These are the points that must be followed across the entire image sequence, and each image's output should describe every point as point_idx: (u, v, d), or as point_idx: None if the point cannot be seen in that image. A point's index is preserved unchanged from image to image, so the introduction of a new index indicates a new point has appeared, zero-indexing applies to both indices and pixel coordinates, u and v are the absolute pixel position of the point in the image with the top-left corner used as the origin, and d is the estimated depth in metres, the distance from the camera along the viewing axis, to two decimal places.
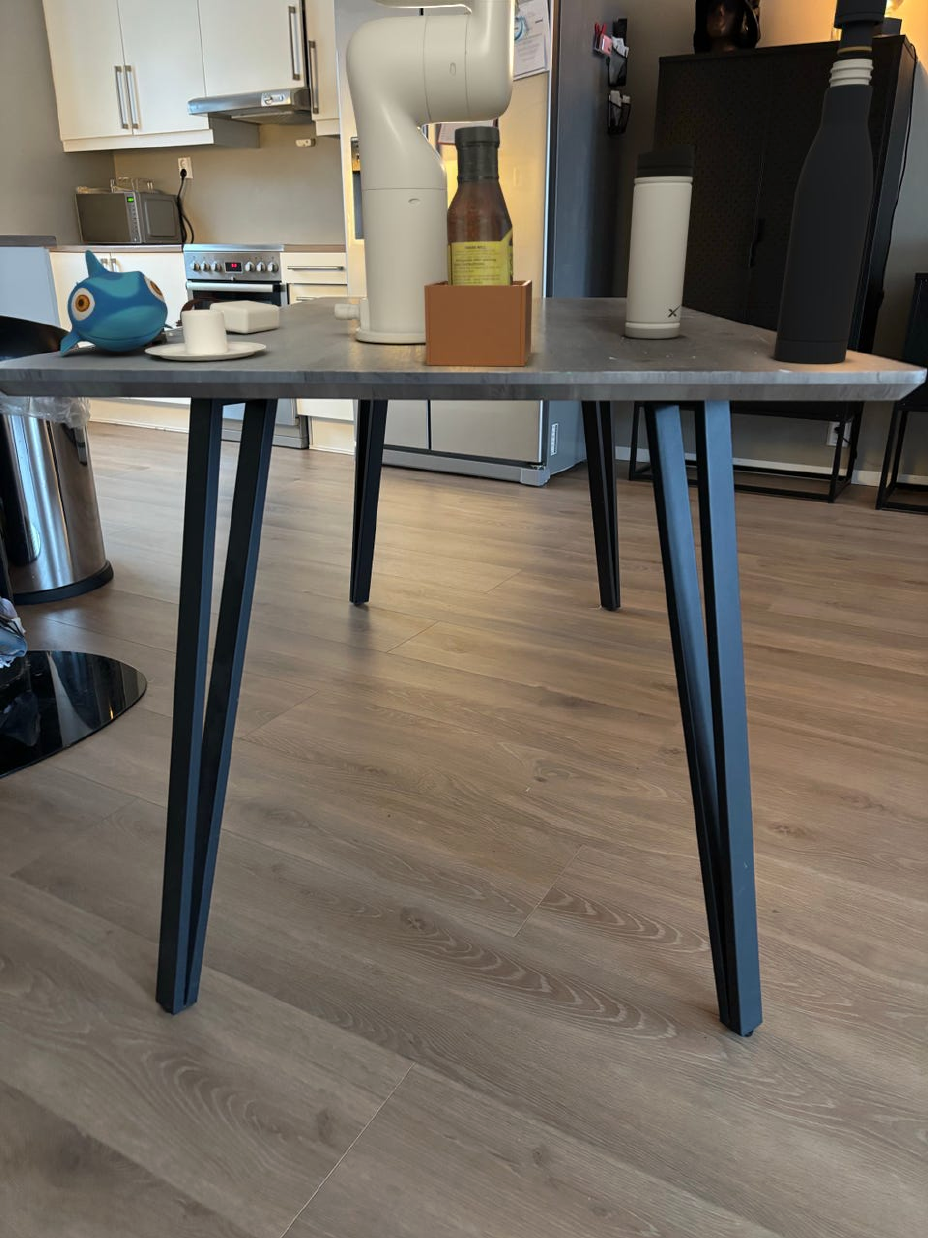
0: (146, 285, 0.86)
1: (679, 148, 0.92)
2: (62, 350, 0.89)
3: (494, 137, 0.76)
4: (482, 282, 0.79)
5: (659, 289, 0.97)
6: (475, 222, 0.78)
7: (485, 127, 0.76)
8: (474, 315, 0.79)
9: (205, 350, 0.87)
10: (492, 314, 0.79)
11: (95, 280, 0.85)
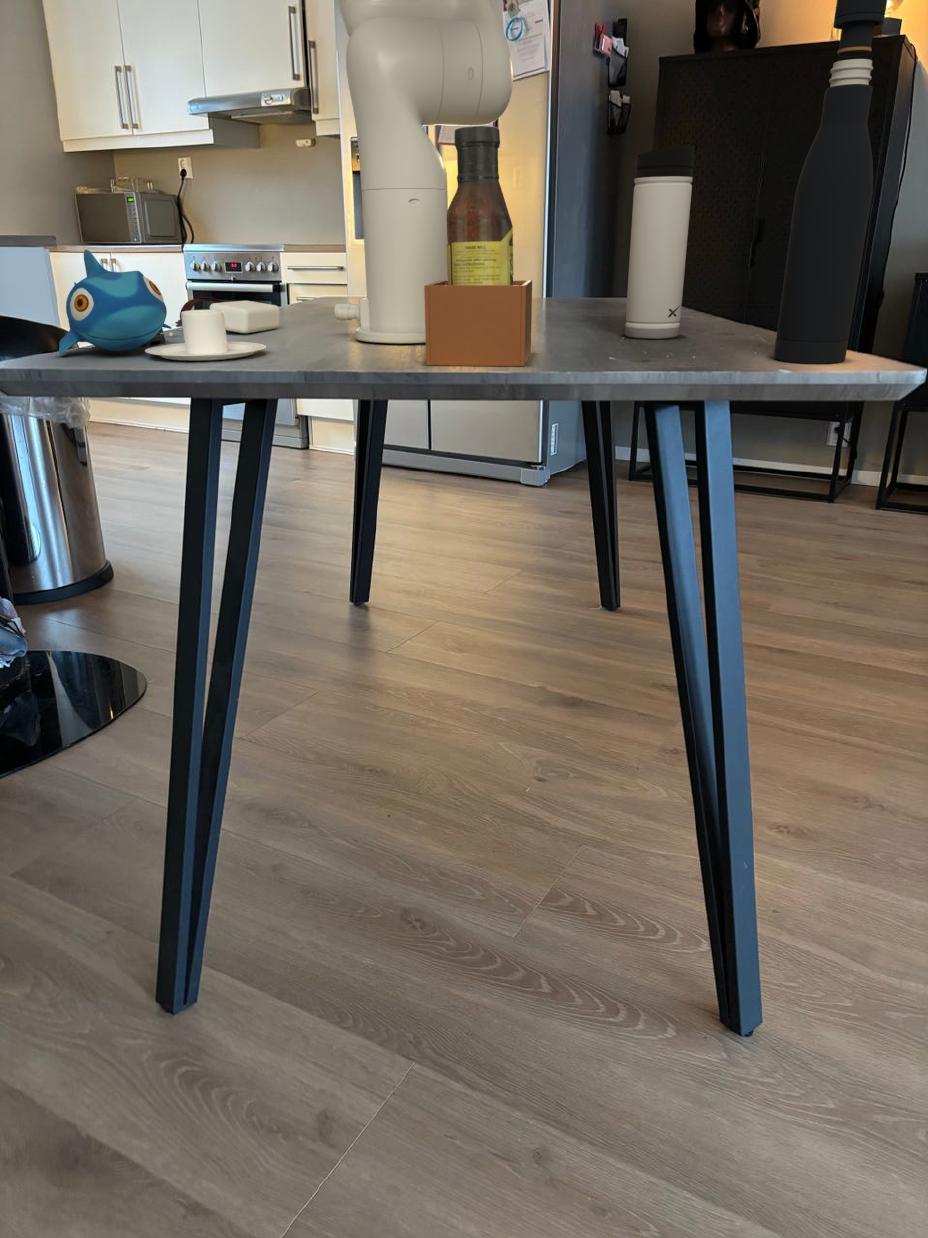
0: (145, 285, 0.86)
1: (679, 148, 0.92)
2: (60, 350, 0.89)
3: (494, 137, 0.76)
4: (482, 282, 0.79)
5: (659, 289, 0.97)
6: (475, 222, 0.78)
7: (485, 127, 0.76)
8: (474, 315, 0.79)
9: (205, 350, 0.87)
10: (492, 314, 0.79)
11: (94, 279, 0.85)
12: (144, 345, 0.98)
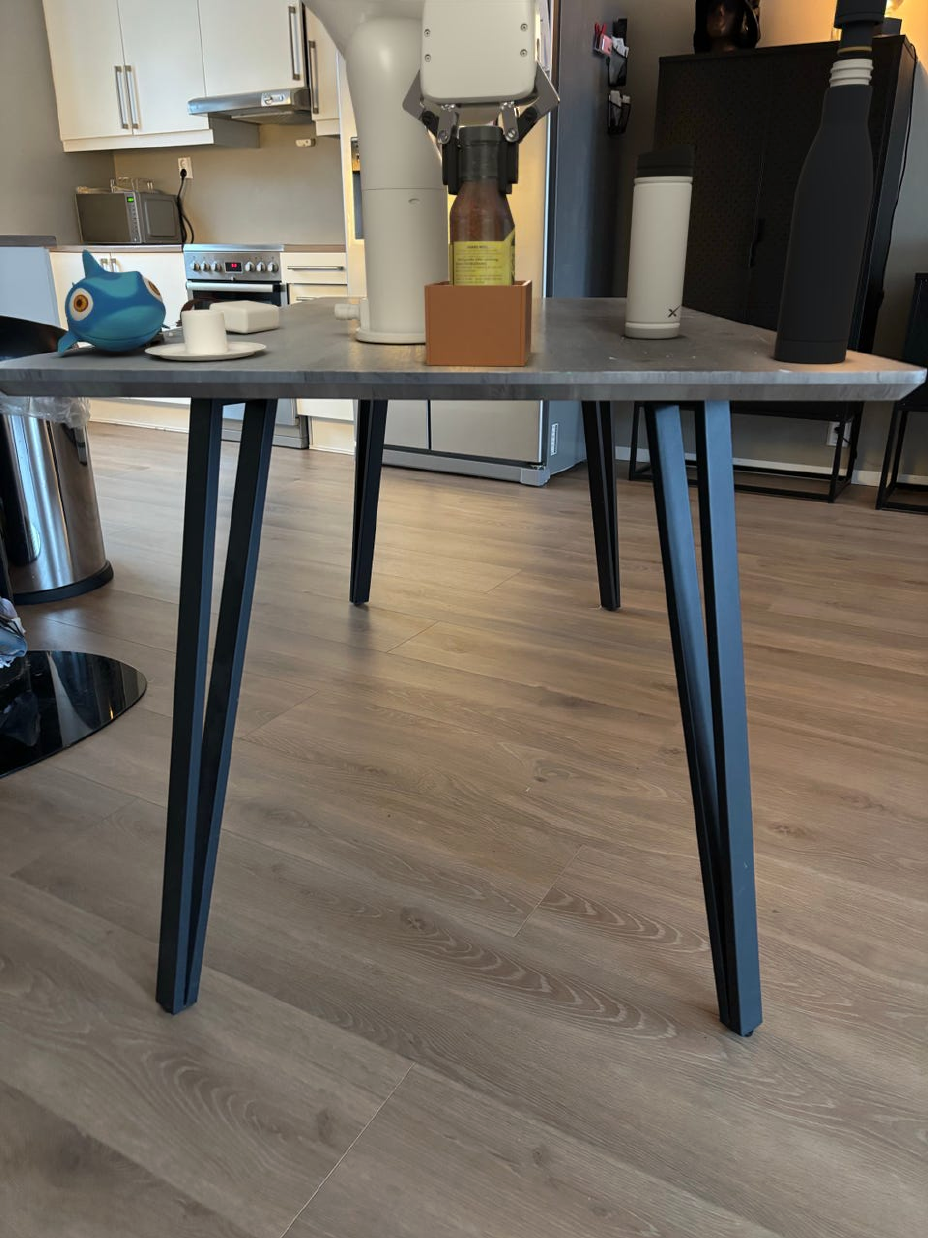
0: (144, 285, 0.86)
1: (679, 148, 0.92)
2: (59, 351, 0.89)
3: (498, 137, 0.76)
4: (484, 282, 0.79)
5: (659, 289, 0.97)
6: (478, 222, 0.77)
7: (489, 126, 0.76)
8: (474, 315, 0.79)
9: (205, 350, 0.87)
10: (492, 314, 0.79)
11: (94, 280, 0.85)
12: (144, 345, 0.98)
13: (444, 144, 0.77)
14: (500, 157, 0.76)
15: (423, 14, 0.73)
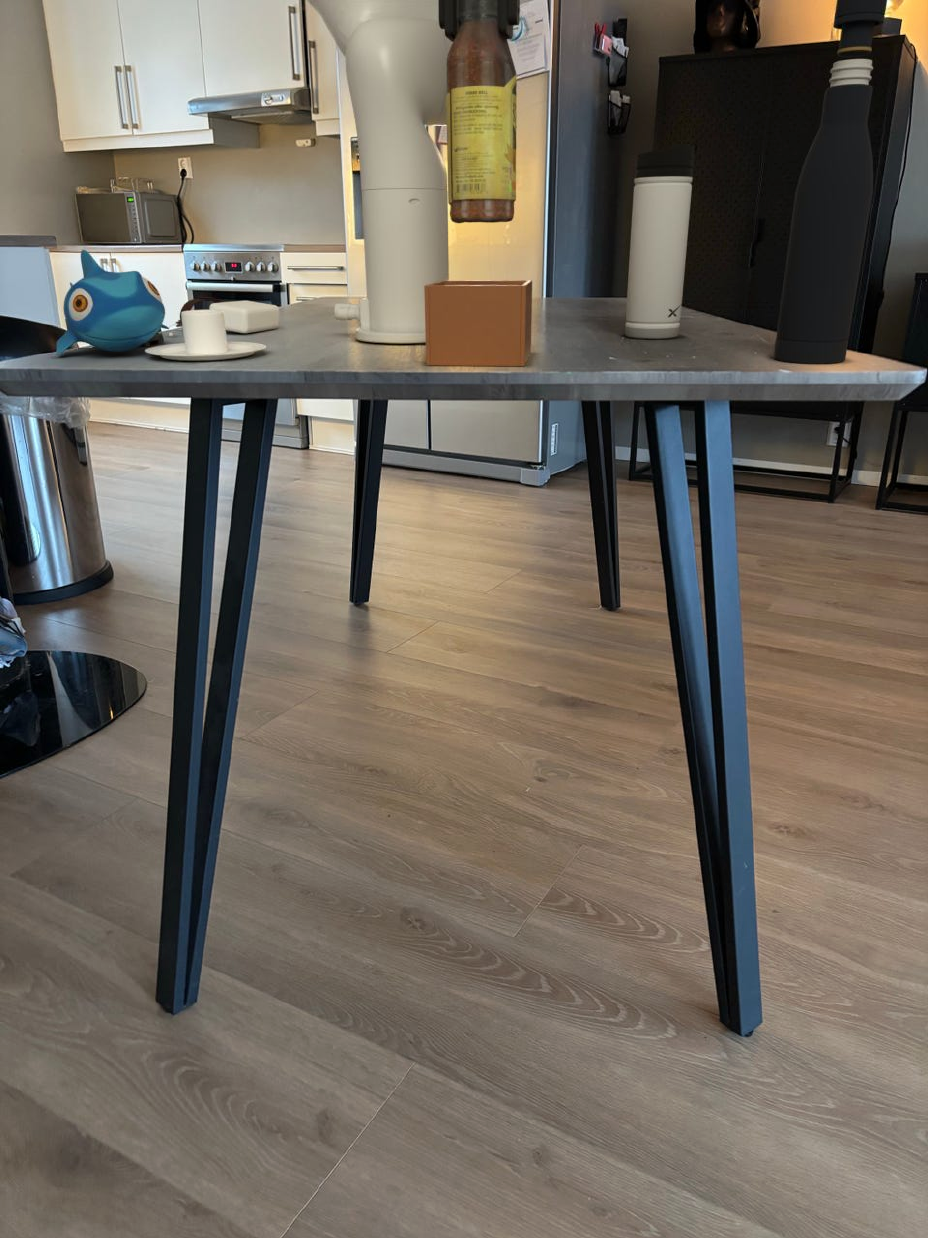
0: (144, 285, 0.86)
1: (679, 148, 0.92)
2: (58, 351, 0.89)
3: None
4: (483, 132, 0.75)
5: (659, 289, 0.97)
6: (477, 64, 0.73)
7: None
8: (474, 315, 0.79)
9: (205, 350, 0.87)
10: (492, 314, 0.79)
11: (93, 280, 0.84)
12: (143, 344, 0.97)
13: None
14: None
15: None
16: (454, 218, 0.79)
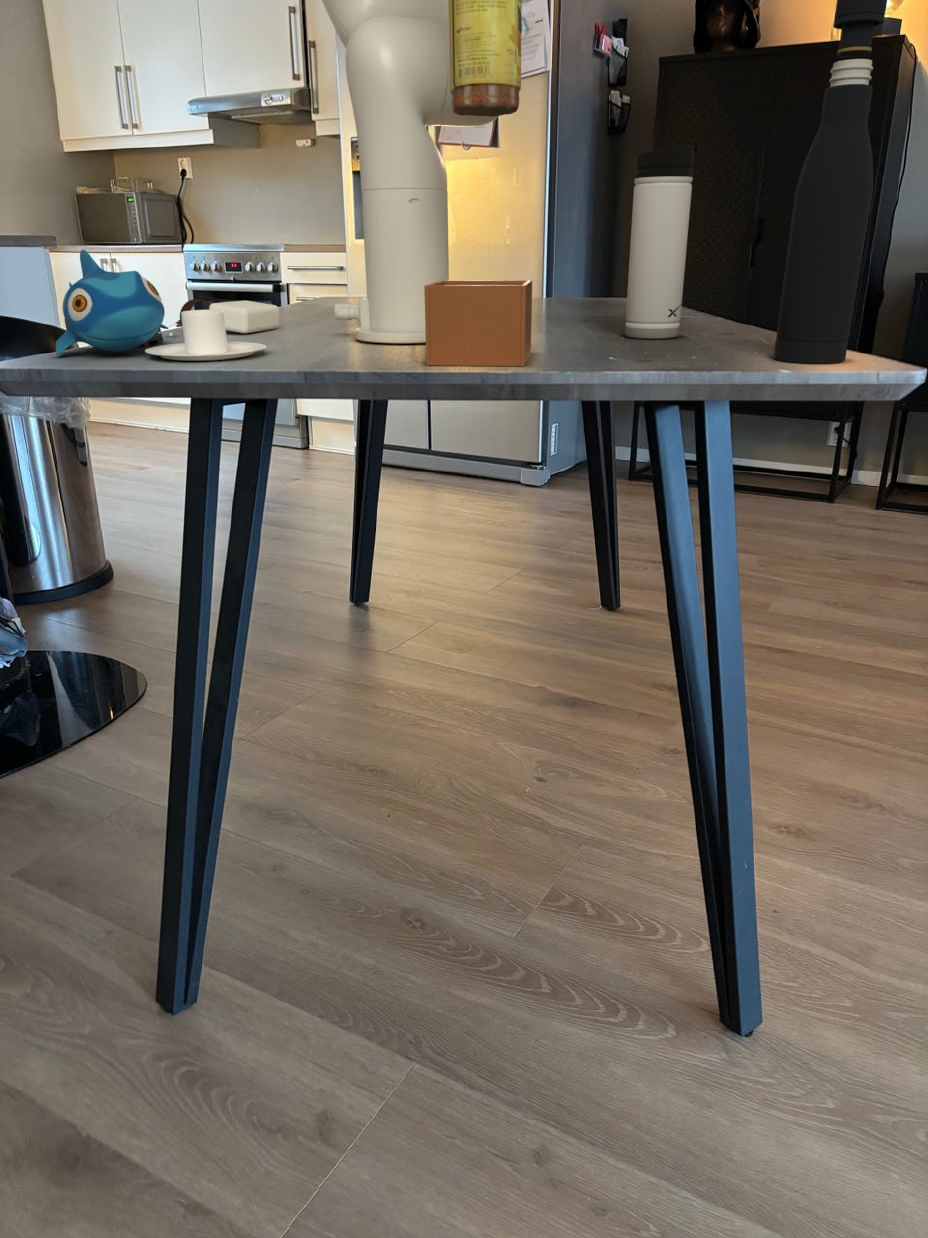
0: (143, 285, 0.86)
1: (679, 148, 0.92)
2: (57, 351, 0.89)
3: None
4: (487, 10, 0.71)
5: (659, 289, 0.97)
6: None
7: None
8: (474, 315, 0.79)
9: (205, 350, 0.87)
10: (492, 314, 0.79)
11: (92, 280, 0.84)
12: (143, 344, 0.97)
13: None
14: None
15: None
16: (456, 107, 0.75)
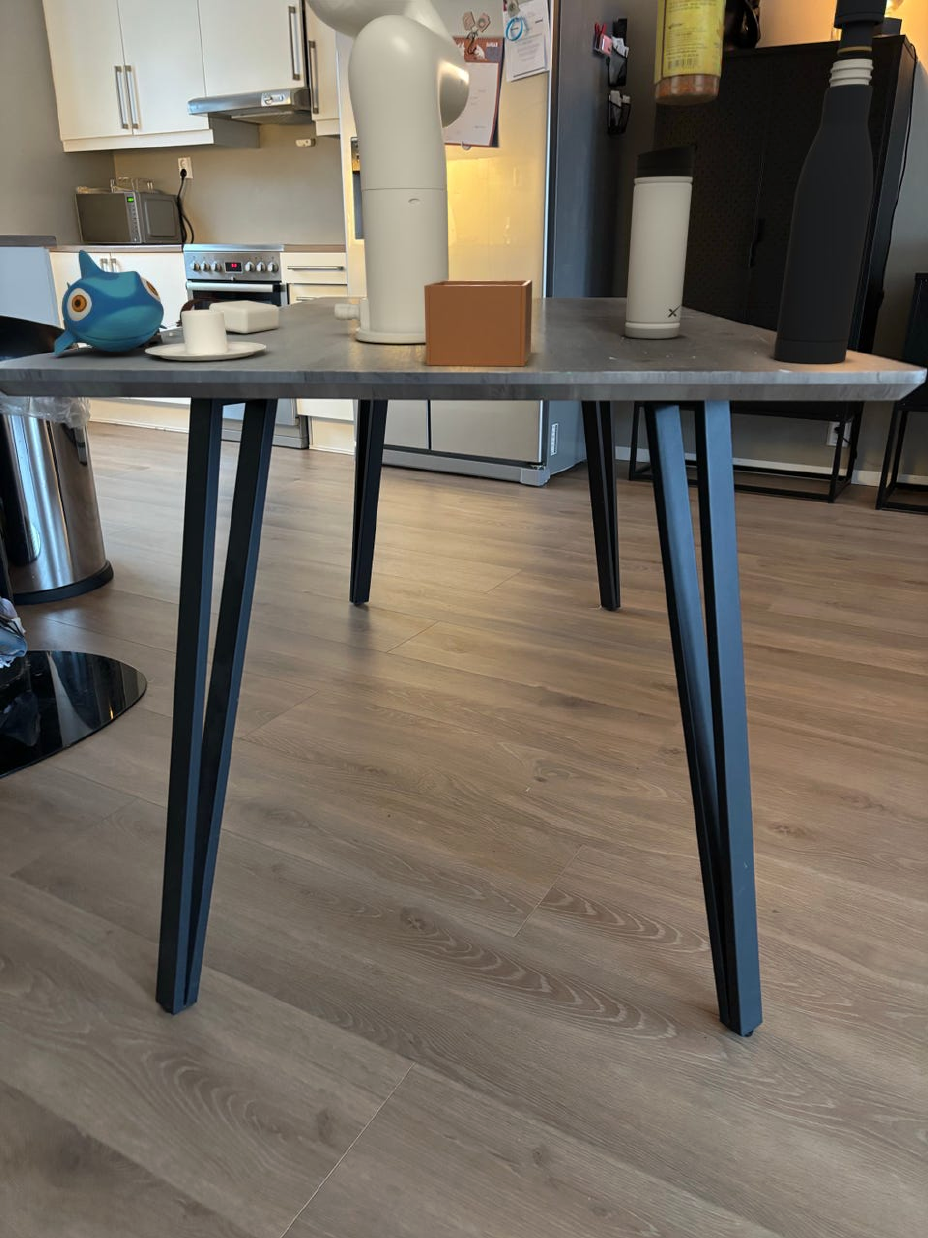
0: (143, 285, 0.86)
1: (679, 148, 0.92)
2: (56, 351, 0.89)
3: None
4: (699, 7, 0.79)
5: (659, 289, 0.97)
6: None
7: None
8: (474, 315, 0.79)
9: (205, 350, 0.87)
10: (492, 314, 0.79)
11: (92, 280, 0.84)
12: (142, 346, 0.97)
13: None
14: None
15: None
16: (662, 96, 0.83)
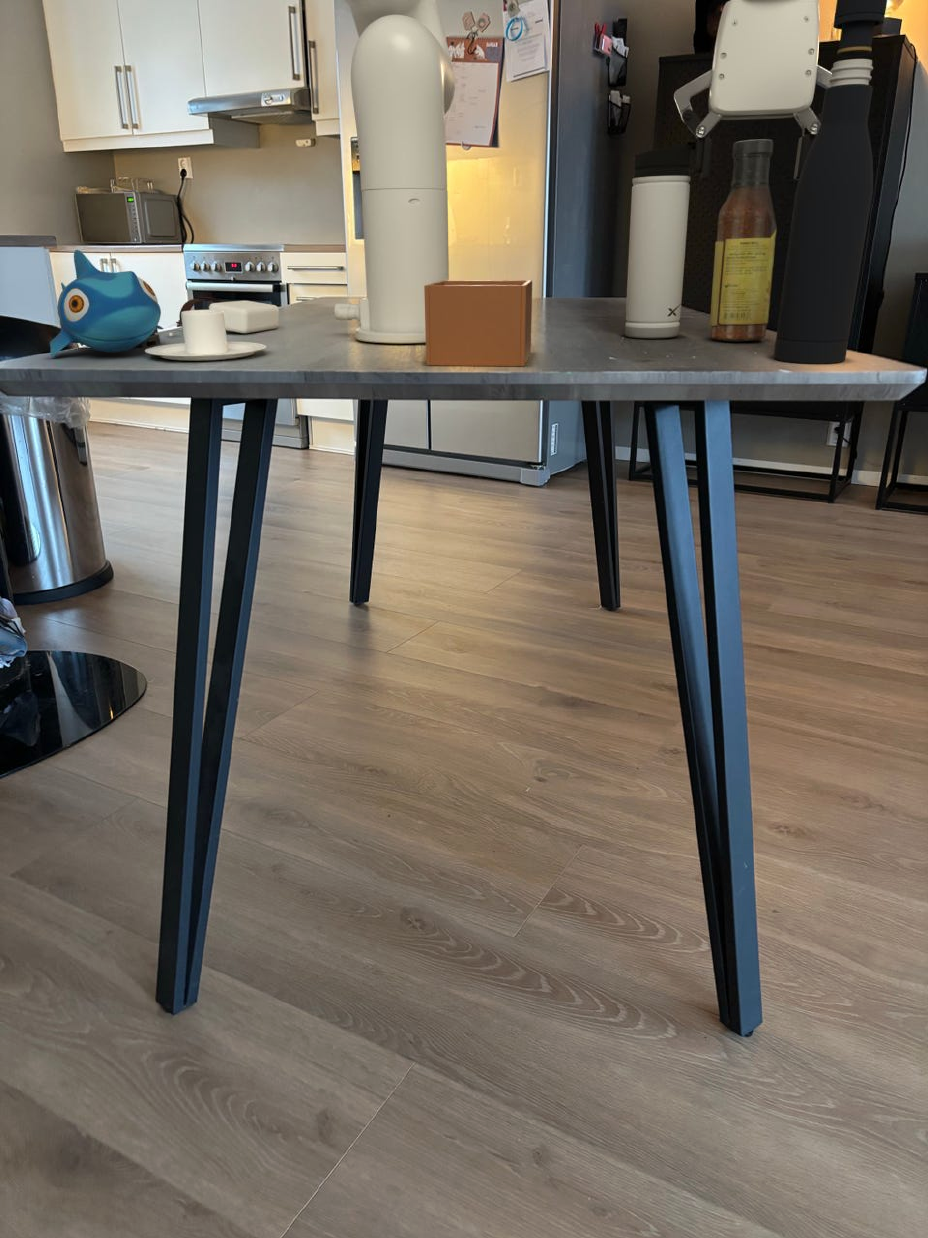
0: (140, 285, 0.86)
1: (676, 147, 0.92)
2: (53, 352, 0.88)
3: (771, 149, 0.90)
4: (752, 273, 0.92)
5: (658, 288, 0.97)
6: (751, 221, 0.91)
7: (765, 140, 0.89)
8: (474, 315, 0.79)
9: (205, 350, 0.87)
10: (492, 314, 0.79)
11: (89, 280, 0.84)
12: (141, 346, 0.97)
13: (698, 137, 0.90)
14: (802, 147, 0.88)
15: (721, 40, 0.86)
16: (718, 338, 0.97)
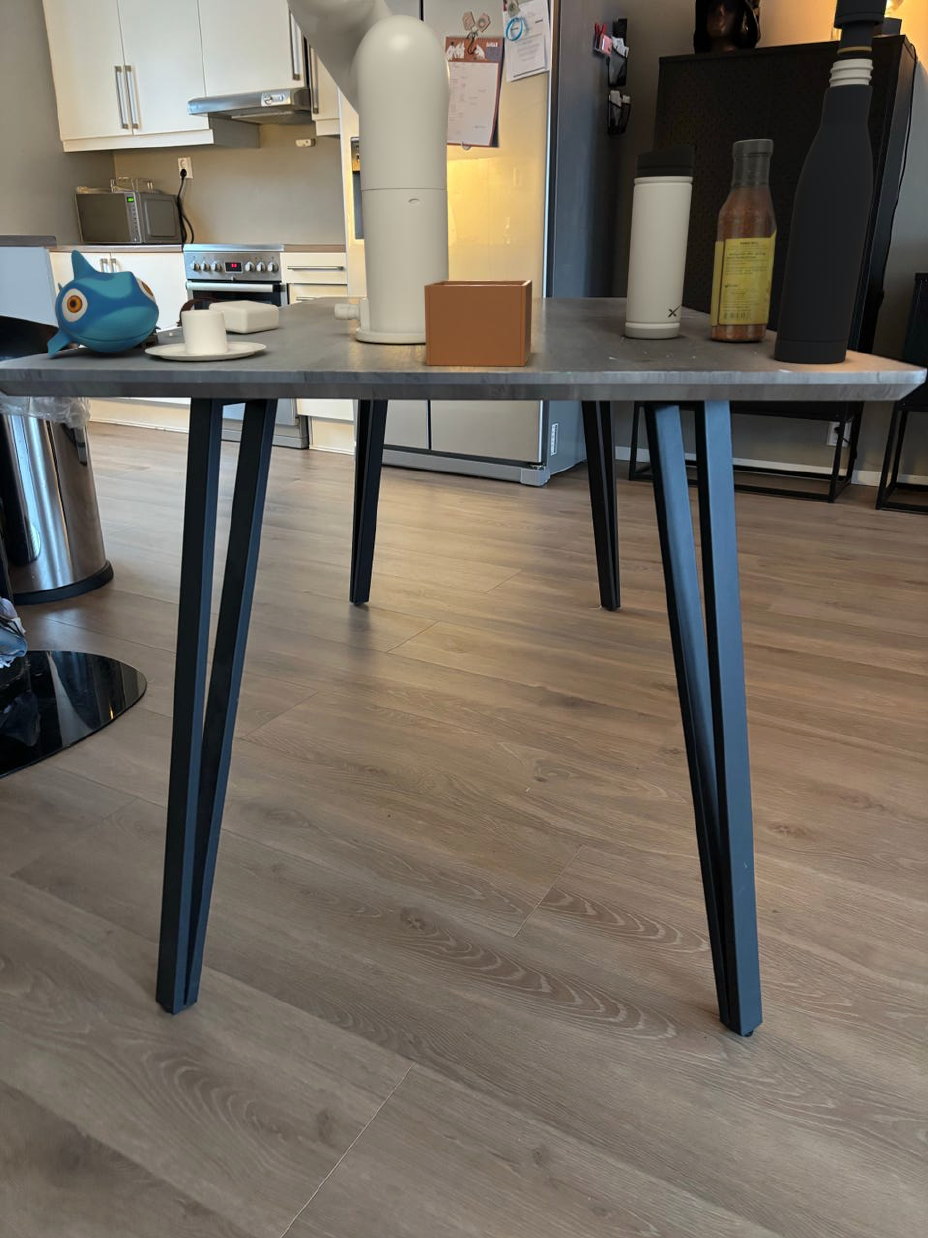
0: (138, 285, 0.86)
1: (679, 148, 0.92)
2: (50, 352, 0.88)
3: (771, 149, 0.90)
4: (752, 273, 0.92)
5: (659, 289, 0.97)
6: (751, 221, 0.91)
7: (765, 140, 0.89)
8: (474, 315, 0.79)
9: (205, 350, 0.87)
10: (492, 314, 0.79)
11: (87, 280, 0.84)
12: (140, 346, 0.97)
13: None
14: None
15: None
16: (718, 338, 0.97)
